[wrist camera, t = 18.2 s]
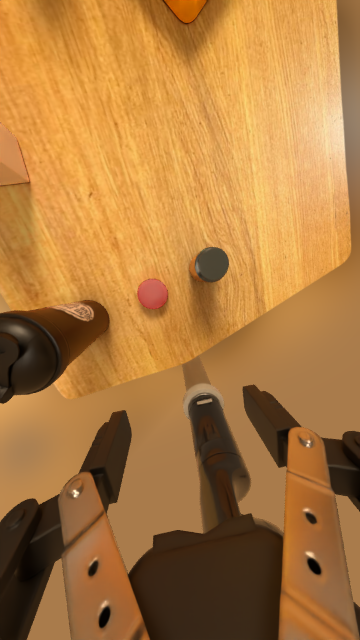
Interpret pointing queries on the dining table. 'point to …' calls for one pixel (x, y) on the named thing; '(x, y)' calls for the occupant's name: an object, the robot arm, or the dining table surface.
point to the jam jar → (209, 265)
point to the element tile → (186, 8)
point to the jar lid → (152, 294)
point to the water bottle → (45, 344)
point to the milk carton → (11, 159)
